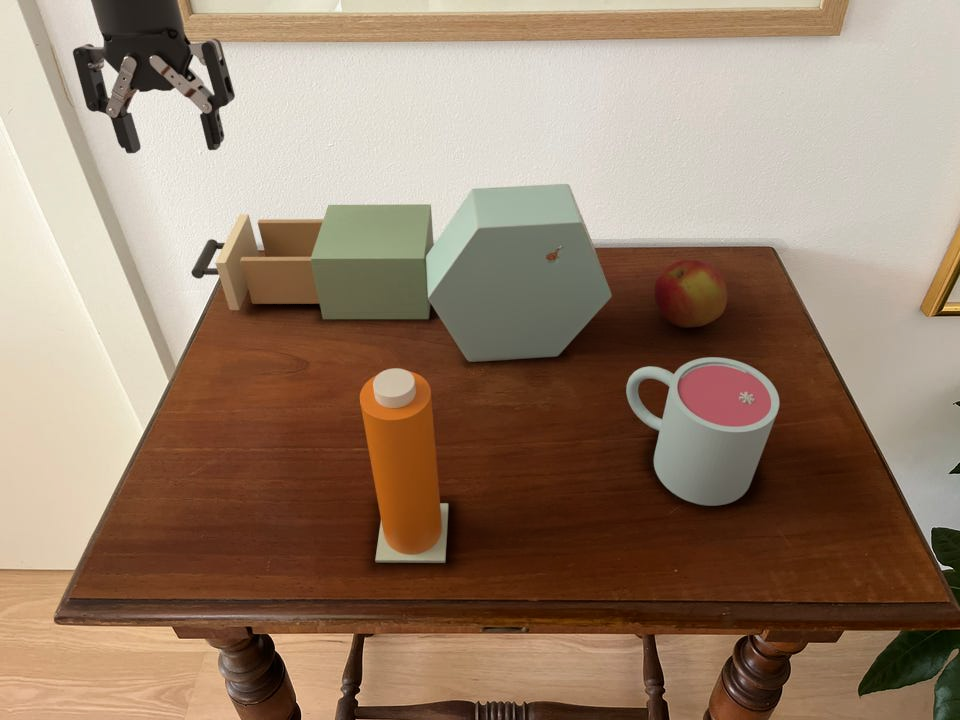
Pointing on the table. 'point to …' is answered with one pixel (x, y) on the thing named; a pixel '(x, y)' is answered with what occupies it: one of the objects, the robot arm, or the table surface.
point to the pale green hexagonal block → (515, 273)
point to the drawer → (265, 262)
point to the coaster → (430, 556)
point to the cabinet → (373, 261)
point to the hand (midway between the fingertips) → (174, 149)
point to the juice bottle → (403, 458)
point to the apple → (690, 293)
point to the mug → (709, 427)
